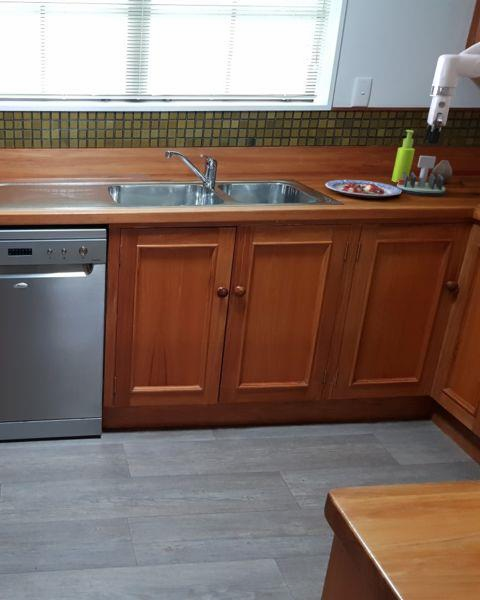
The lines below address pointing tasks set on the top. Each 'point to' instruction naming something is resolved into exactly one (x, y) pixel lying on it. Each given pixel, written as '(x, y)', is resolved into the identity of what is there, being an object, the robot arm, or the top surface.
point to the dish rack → (423, 178)
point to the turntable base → (423, 193)
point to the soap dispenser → (404, 158)
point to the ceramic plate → (363, 188)
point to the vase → (443, 171)
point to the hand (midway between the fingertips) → (430, 141)
